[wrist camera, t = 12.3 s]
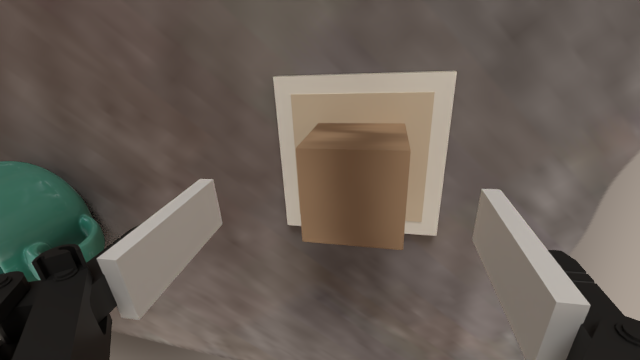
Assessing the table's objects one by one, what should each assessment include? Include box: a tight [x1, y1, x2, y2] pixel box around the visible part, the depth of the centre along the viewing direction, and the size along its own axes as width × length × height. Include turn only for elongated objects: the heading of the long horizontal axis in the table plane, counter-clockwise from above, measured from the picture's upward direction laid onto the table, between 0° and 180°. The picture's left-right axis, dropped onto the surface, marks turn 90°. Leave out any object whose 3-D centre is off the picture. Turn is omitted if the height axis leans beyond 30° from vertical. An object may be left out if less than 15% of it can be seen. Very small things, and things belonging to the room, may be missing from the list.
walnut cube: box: [296, 123, 411, 250], centre depth 20 cm, size 6×6×6 cm
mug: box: [0, 161, 105, 282], centre depth 28 cm, size 17×13×10 cm
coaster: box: [273, 71, 457, 236], centre depth 23 cm, size 12×12×1 cm
